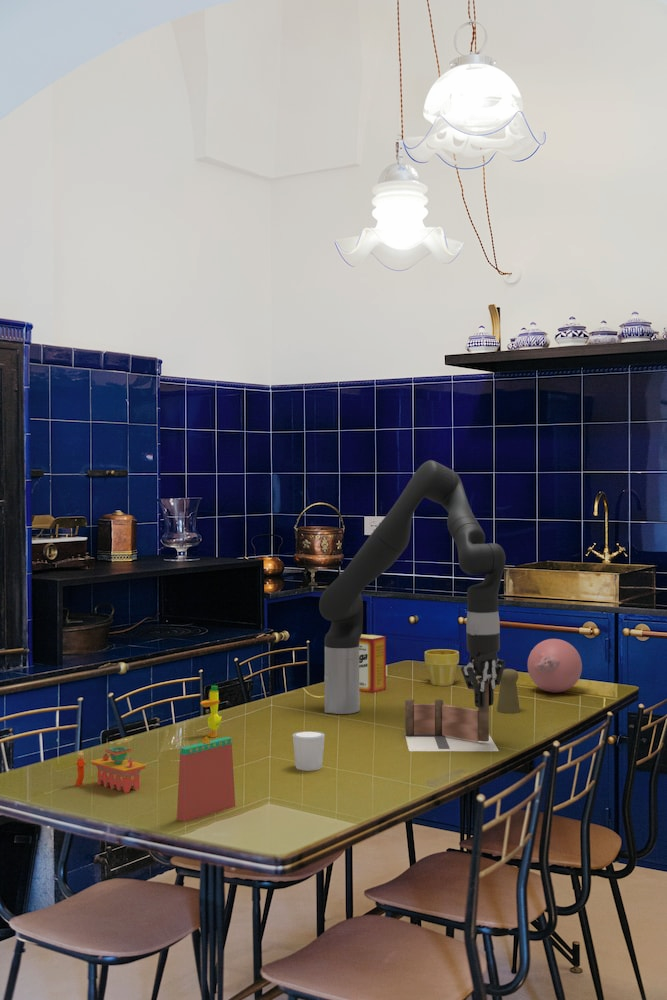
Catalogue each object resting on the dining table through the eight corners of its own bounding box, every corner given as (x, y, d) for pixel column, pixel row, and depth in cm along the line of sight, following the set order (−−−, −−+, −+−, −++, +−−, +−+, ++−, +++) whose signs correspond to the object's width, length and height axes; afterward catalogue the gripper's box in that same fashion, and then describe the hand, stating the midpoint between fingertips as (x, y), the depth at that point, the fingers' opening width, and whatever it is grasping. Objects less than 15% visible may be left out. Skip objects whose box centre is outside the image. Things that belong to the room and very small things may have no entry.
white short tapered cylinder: (314, 772, 222) (314, 739, 222) (286, 768, 226) (286, 735, 226) (330, 765, 228) (330, 732, 228) (303, 761, 232) (303, 729, 232)
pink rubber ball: (511, 696, 304) (511, 641, 304) (540, 685, 320) (540, 634, 320) (562, 702, 295) (562, 646, 295) (590, 690, 311) (590, 638, 311)
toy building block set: (184, 823, 190) (183, 743, 190) (67, 787, 213) (67, 716, 213) (235, 807, 199) (235, 731, 199) (118, 774, 222) (118, 706, 222)
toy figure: (206, 740, 252) (206, 689, 251) (196, 737, 254) (196, 687, 254) (227, 734, 257) (227, 684, 257) (216, 732, 259) (216, 683, 259)
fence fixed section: (405, 736, 253) (405, 701, 253) (405, 734, 255) (404, 699, 255) (443, 736, 253) (443, 701, 253) (442, 734, 255) (442, 699, 255)
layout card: (409, 752, 239) (409, 750, 239) (404, 734, 257) (404, 732, 257) (499, 752, 239) (499, 750, 239) (488, 734, 257) (488, 732, 257)
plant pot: (425, 687, 318) (425, 654, 318) (423, 680, 328) (423, 649, 328) (460, 687, 317) (460, 654, 317) (457, 681, 328) (457, 649, 328)
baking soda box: (346, 689, 314) (346, 635, 314) (359, 686, 319) (359, 632, 319) (372, 693, 308) (372, 637, 308) (385, 689, 314) (385, 635, 313)
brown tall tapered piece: (519, 708, 286) (519, 667, 286) (520, 713, 280) (520, 671, 280) (496, 708, 287) (496, 667, 287) (497, 713, 281) (497, 671, 281)
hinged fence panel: (440, 735, 252) (440, 677, 252) (446, 733, 254) (446, 676, 254) (485, 743, 244) (485, 684, 244) (490, 741, 246) (490, 682, 245)
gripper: (489, 626, 252) (490, 699, 253) (450, 632, 243) (451, 708, 243) (515, 629, 247) (516, 703, 247) (476, 635, 237) (477, 713, 238)
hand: (484, 705), depth 245 cm, fingers closed on hinged fence panel, 2 cm apart
